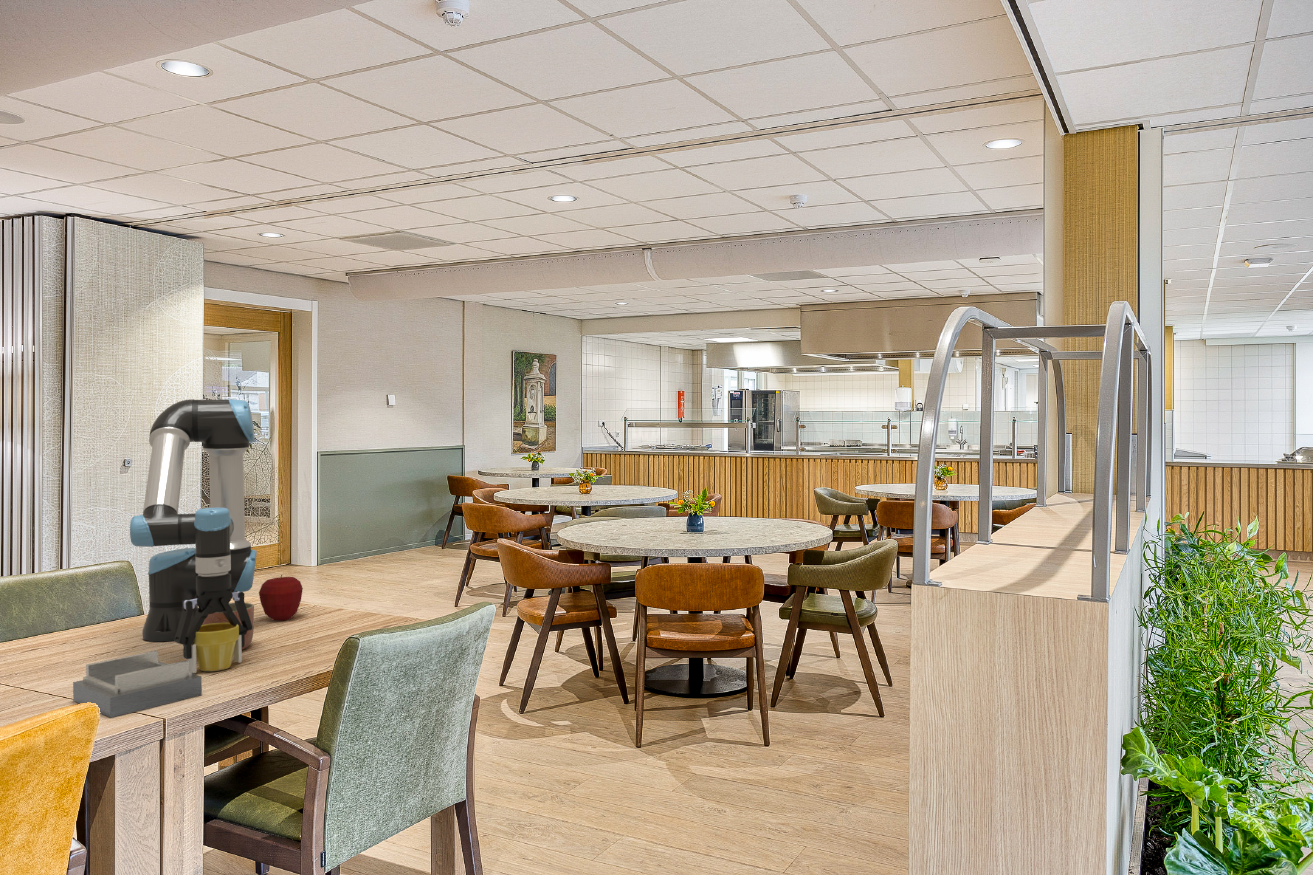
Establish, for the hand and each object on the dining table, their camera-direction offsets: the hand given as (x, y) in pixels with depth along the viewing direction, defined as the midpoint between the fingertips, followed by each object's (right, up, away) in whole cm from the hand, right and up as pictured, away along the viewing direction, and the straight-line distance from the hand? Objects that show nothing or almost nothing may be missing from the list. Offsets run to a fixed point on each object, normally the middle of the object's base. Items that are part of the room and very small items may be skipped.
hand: (215, 666), depth 212 cm
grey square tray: (-5, -1, -22) cm, 23 cm away
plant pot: (0, -1, 0) cm, 1 cm away
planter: (-5, 0, +18) cm, 18 cm away
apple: (-6, 0, +52) cm, 52 cm away
